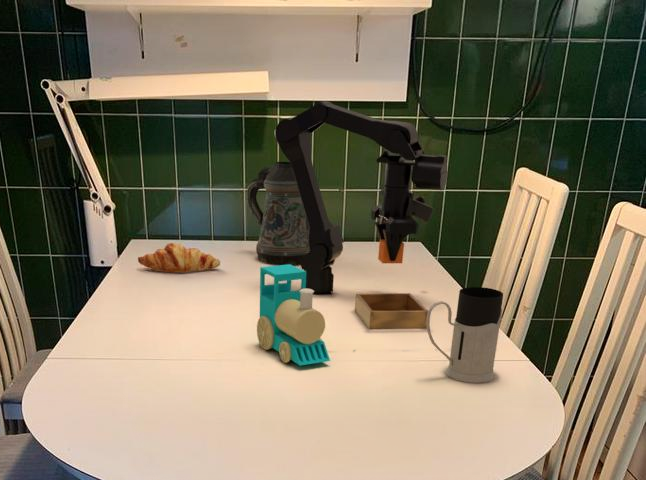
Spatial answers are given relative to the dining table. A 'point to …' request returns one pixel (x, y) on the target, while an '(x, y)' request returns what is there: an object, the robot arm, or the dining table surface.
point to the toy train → (290, 318)
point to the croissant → (178, 259)
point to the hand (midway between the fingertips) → (390, 258)
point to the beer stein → (279, 216)
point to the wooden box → (391, 311)
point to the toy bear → (384, 254)
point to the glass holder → (473, 334)
